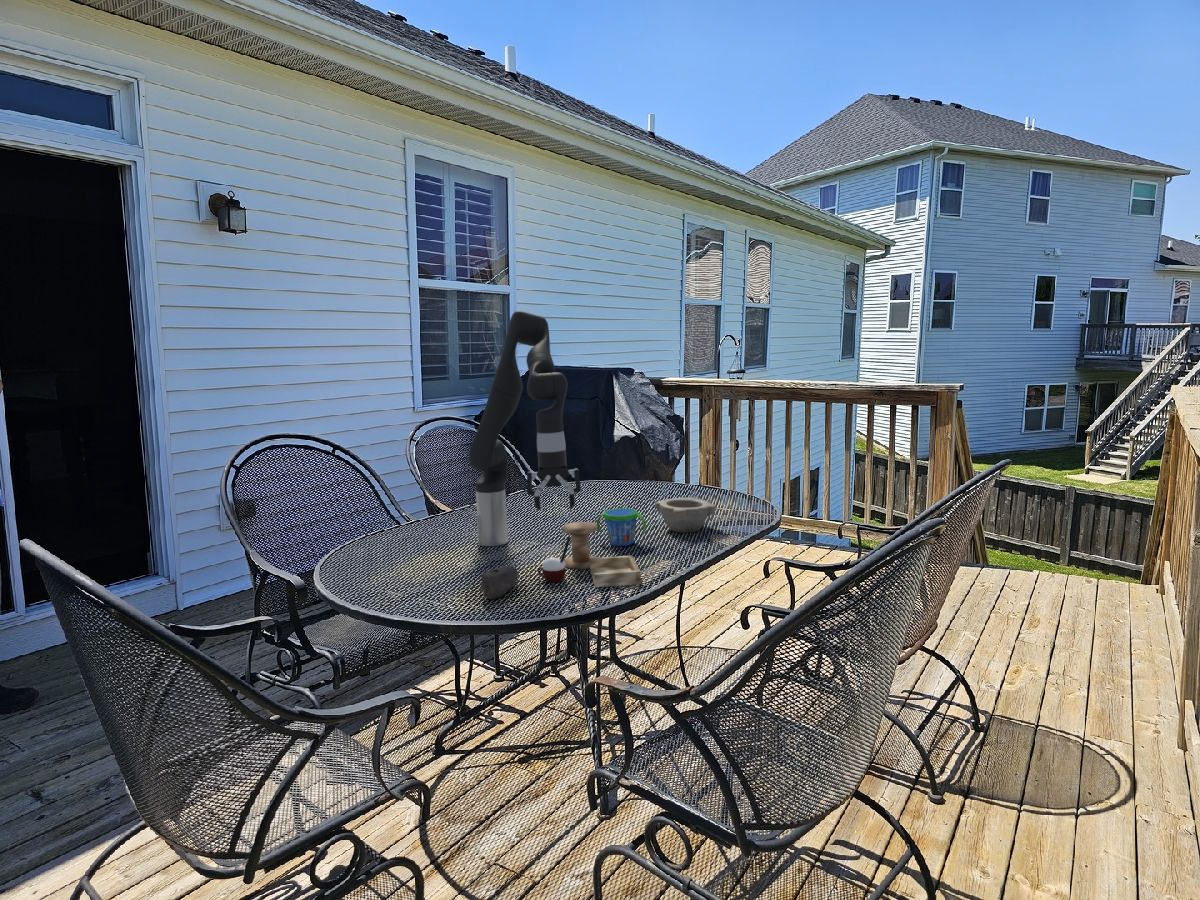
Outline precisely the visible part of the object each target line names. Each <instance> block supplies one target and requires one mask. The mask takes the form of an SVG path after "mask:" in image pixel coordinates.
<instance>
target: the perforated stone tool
mask: <svg viewBox="0 0 1200 900" xmlns="http://www.w3.org/2000/svg"><path fill="white" fill-rule="evenodd" d="M518 573H519V572H518V570H517V567H515V566H513V565H504V566H501V567H496V568H494V569H491V570H489V571H486V572H484V573H483V574H481V575H480V578H481V584H480V589H481V590H482V592H483V597H484V598H486V599H489V600H495V599H498V598H500V597H503V596H504V595H505V594H507V593H508V592H509V591H510V590H511V589H512V588H513V587H514V586H515V585H516V583H517V580H518V578H519V574H518Z"/></svg>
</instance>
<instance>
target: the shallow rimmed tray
mask: <svg viewBox="0 0 1200 900" xmlns="http://www.w3.org/2000/svg"><path fill="white" fill-rule="evenodd" d="M589 570H590V574H591V578H592V582H593V585H594V588H604V587H619V586H621V587H622V586H632V585H635V586H636V585H642V581H641V579H642V578H641V569H640V568H639V566H638V564H637V562H636V559H635V558H634V556H633V555H622V556H621V555H620V556H619V555H618V556H603V557H602V556H601V557H597V558H590V568H589Z"/></svg>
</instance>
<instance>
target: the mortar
mask: <svg viewBox="0 0 1200 900" xmlns="http://www.w3.org/2000/svg"><path fill="white" fill-rule="evenodd" d="M654 507H655V509H656V511H657V512H658V513H660V514H661V516H662V519H663V520H664V522H665V524H666V526H667V527H668V528H669V529H670V531H672V532H675V533H694V532H698V531H699V530H701V529H702V527H703V526H704V524H705V522H706V520H707V519H708V518H709V517H710V516H712V515H714V514H715V513H716V511H717V509H718V507H717V505H716V504H713V503H711V502H709V501H707V500H704V499H700V498H696V497H692V496H690V497H689V496H687V497H677V498H676V497H675V498H666V499H661V500H658V501H656V502H655V503H654Z"/></svg>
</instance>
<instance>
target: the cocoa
mask: <svg viewBox="0 0 1200 900" xmlns="http://www.w3.org/2000/svg"><path fill="white" fill-rule="evenodd" d="M571 540H572V539H571V536H569V537H567V538H566V543H565V545H564V549H563V551H562V555H561V557H560V558H557V557H555V556H553V557H549V558H546V559H544V561H543V563H542V564H541V565H542V566H540V567H538V569H537V572H538V574H539V576H541V577H542V578H544V580H546V582H548V583H551V584H552V583H559V582H561V581H563V580H564V578H565V576H566V568H567V567H565V565H566V564H565V562H564V560H565V559H566V554H567V551H568V548H569V545H570V541H571ZM540 570H542V573H541V572H540Z"/></svg>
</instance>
